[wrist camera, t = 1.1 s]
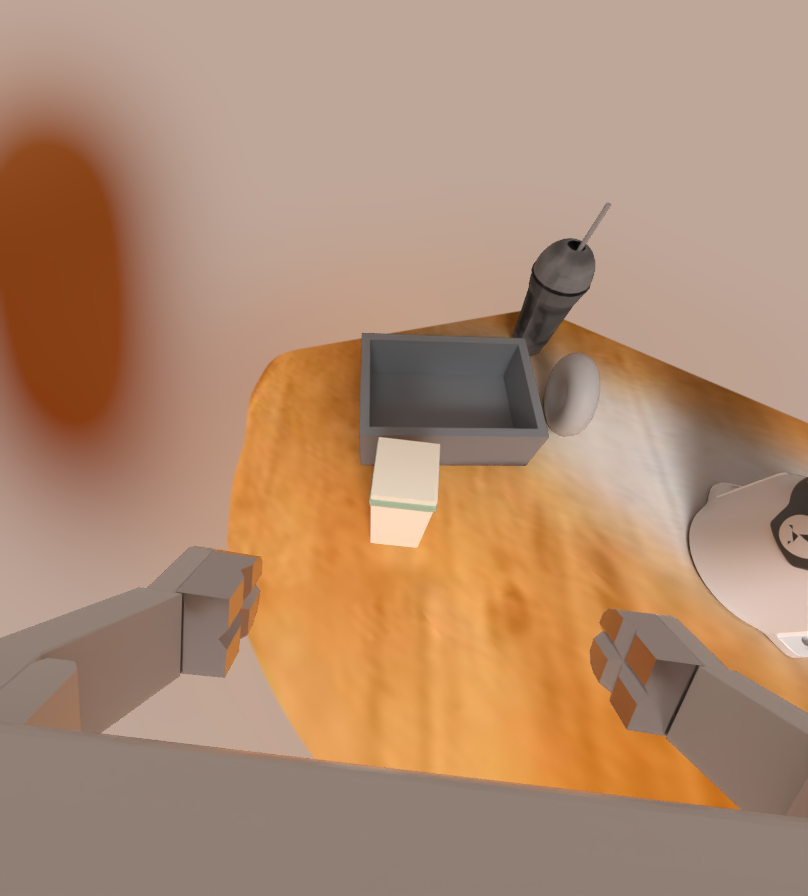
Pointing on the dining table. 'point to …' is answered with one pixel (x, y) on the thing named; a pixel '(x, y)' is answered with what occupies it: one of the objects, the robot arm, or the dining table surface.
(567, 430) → the donut
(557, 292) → the beverage cup
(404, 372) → the box
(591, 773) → the dining table surface
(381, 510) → the juice carton
